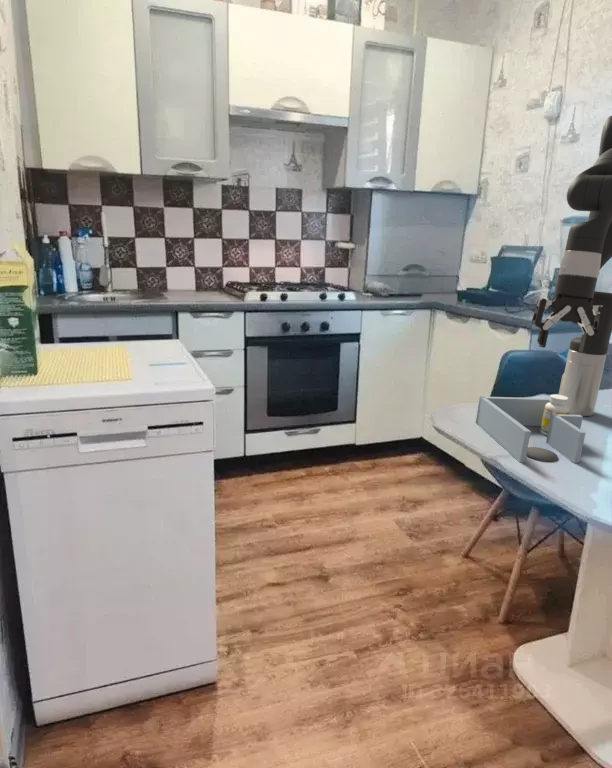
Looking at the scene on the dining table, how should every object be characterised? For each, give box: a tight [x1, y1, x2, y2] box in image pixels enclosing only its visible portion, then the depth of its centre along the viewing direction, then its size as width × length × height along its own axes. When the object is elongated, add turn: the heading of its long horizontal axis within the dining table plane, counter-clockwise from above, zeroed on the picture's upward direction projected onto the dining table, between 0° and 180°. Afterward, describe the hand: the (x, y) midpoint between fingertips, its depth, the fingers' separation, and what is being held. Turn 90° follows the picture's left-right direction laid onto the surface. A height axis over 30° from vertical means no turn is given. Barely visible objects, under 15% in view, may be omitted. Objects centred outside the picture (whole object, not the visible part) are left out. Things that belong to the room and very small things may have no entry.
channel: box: [475, 396, 586, 464], centre depth 126 cm, size 24×19×7 cm
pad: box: [526, 446, 558, 463], centre depth 119 cm, size 7×7×1 cm
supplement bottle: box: [539, 393, 569, 437], centre depth 131 cm, size 5×5×10 cm
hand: (561, 349), depth 118 cm, fingers open, 8 cm apart
